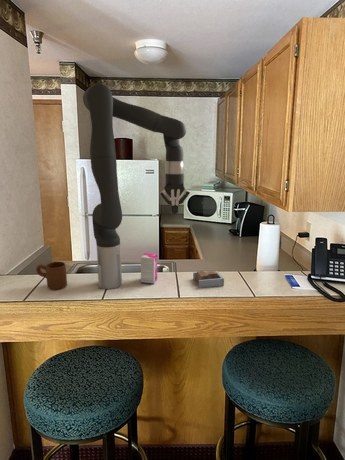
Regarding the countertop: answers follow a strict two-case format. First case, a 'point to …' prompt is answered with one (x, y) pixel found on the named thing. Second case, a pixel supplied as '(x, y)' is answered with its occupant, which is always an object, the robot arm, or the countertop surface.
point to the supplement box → (148, 268)
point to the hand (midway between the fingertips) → (174, 213)
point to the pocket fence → (210, 281)
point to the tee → (206, 275)
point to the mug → (54, 275)
